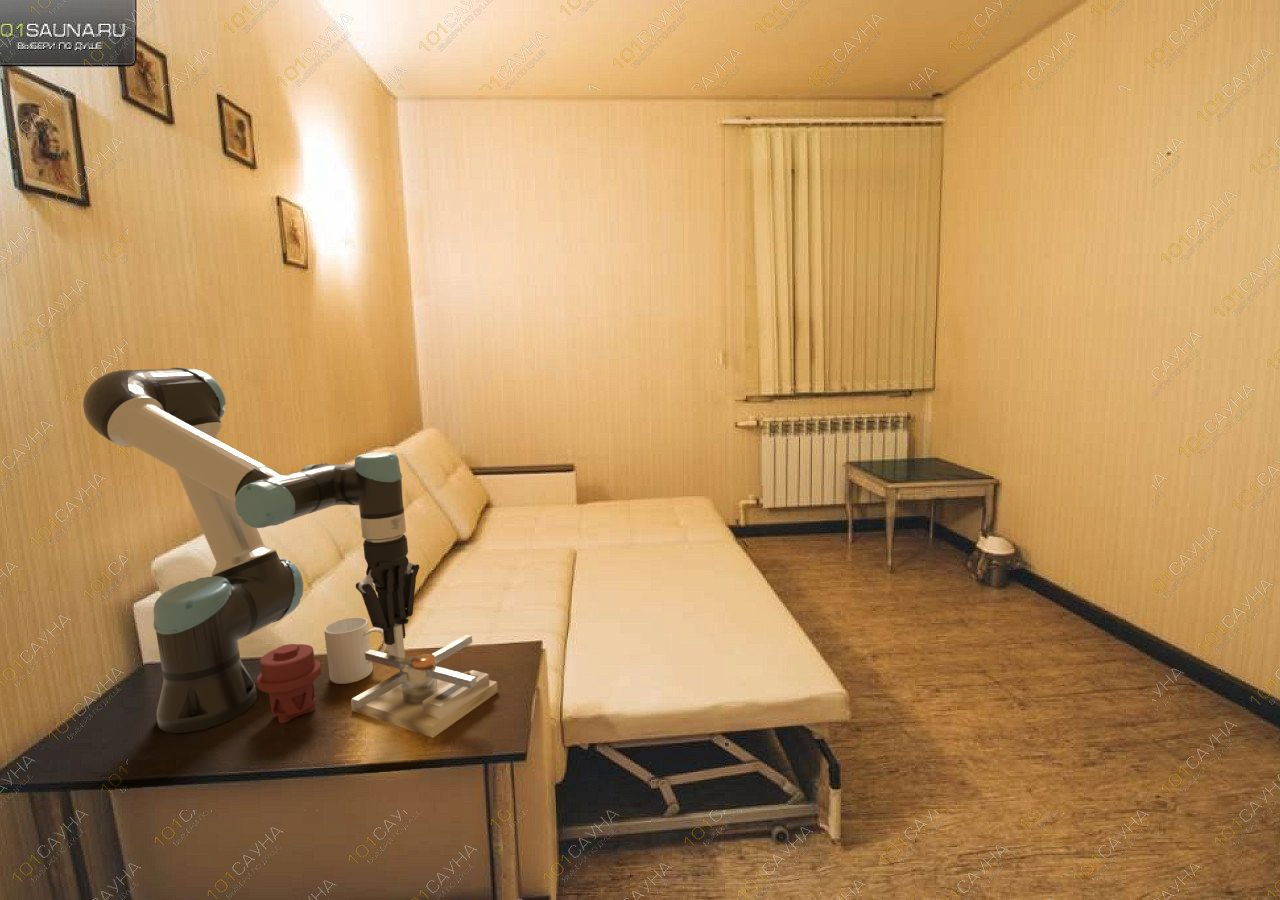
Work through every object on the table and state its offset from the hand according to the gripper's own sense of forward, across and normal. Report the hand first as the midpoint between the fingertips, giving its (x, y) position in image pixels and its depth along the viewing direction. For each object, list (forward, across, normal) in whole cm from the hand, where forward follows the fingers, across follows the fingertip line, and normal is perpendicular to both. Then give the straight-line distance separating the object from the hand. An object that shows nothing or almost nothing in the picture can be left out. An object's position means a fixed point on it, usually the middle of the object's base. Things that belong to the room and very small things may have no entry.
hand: (396, 657), depth 122 cm
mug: (+7, +1, +12) cm, 14 cm away
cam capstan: (+4, -3, -9) cm, 10 cm away
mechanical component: (+7, -14, +11) cm, 19 cm away
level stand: (+6, -1, -8) cm, 10 cm away
